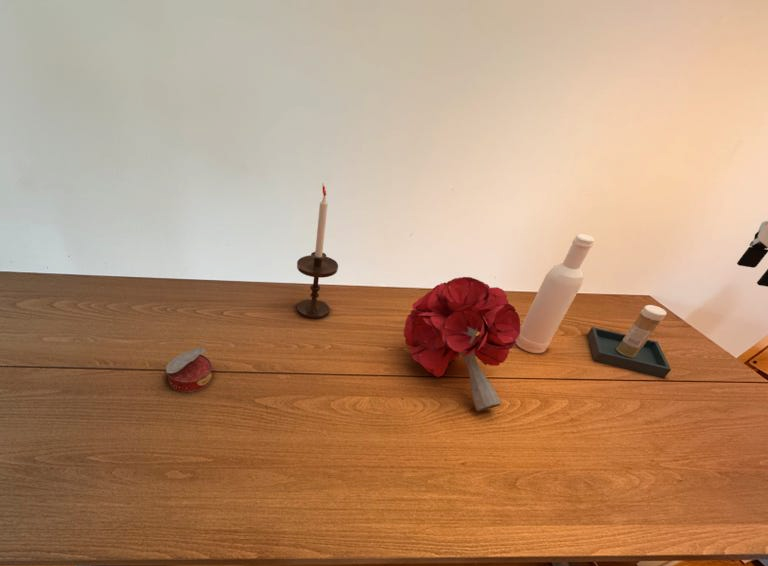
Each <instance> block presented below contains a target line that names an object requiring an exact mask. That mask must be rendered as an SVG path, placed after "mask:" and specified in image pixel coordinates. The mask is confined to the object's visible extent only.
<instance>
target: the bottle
mask: <svg viewBox="0 0 768 566" xmlns="http://www.w3.org/2000/svg"><path fill="white" fill-rule="evenodd" d="M594 242H595V238H594V237H593V236H591V235H590V234H589V235H588V234H585V233H579V234H577V235H576V236H575V237H574V239H573V240H572V242H571V243H572V244H571V246H570V248H569V249H568V252H567V254H566V256H565V257H564V260H563V261H562V263H558V264H556V265H554V266H553V267H551V269H550V270H548V271H547V273H546V274H545V276H544V278H543V280H542V282H541V284H540V287H539V288H538V291H537V293H536V294H535V297H534V299H533V301H532V303H531V305H530V307H529V309H528V311H527V313H526V315H525V318H524V319H523V321H522V324H521V325H520V334H519V337H518V338H517V339H516V340H515V341H516V344H515V345H516V346H518V347H519V348H520V350H521V349H522V350H523V351H526V352H528V353H531V354H532V353H533V354H542V353H544V352H546V350H547V349H548V347H549V346H550V344H551V342H552V340H553V338H554V336H555V334H556V332H557V331H558V328H559V327H560V325H561V324H562V321H564V320H563V319H565V316H566V314H567V313H568V311H569V309H570V307H571V305H572V303H573V302H574V300H575V298H576V296H577V294H578V292H579V291H580V289H581V287H582V286H583V283H584V272H583V271H582V270H581V266H582V264H583V263H584V261H585V258H586V257H587V255H588V253H589V251H590V249H591V248H592V247H593V246H594Z"/></svg>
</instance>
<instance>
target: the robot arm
mask: <svg viewBox="0 0 768 566" xmlns="http://www.w3.org/2000/svg"><path fill="white" fill-rule="evenodd" d="M767 254H768V220H766V221H765V220H764V221H762V222H761V223H760V226H759V227H758V229H757V232H756V233H754V237H753V240H752V241H750V243H749V246H748V247H747V249H746V250H745V251H744V253H743V254H742V255H741V257H740V258H739V259H738V261H737V262H736V264H737V265H738V266H740V267H746V268H752V269H754V268H756V267H757V266H758V265H759V264H760V263H761V261H762V260H763V259H764V257H765V256H766V255H767ZM756 284H757V285H758V286H761V287H766V288H767V287H768V268H767V269H766V270H765V272H764V273H763V274H762V275H761V276H760V278H759V279H758V280H757V281H756Z"/></svg>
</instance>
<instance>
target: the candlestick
mask: <svg viewBox="0 0 768 566" xmlns="http://www.w3.org/2000/svg"><path fill="white" fill-rule="evenodd" d="M322 195H323V196H322V199H321V201H320V202H319V208H318V219H317V229H316V240H315V251H313V252H311V253H310V254H309V255H305V256H302V257H300V258H299V259H298V260H297V262H296V269H297V271H298V272H300V274H302V275H305V276H307V277H312V278H313V282H312V284H311V285H310V286H309V288H310V291H311V293H309V296H310V297H311V299H304V300H301V301H300V302H298V304H297V307H296V308H297V309H296V311H297V313H298V315H300V316H301V317H303V318H305V319H308V320H321V319H324V318H326V317H327V316H328V315H329V312H330V306H329V305H328V304H327V303H326V302H324V301H322V300H320V299H317V298H319V297H320V294H319V293H318V292H319V291H320V290H321V285H320V284H319V280H320V279H319V278H323V279H324V278H329V277H332V276H334V275H336V274H337V273H338V271H339V263H338V262H337V261H336V260H335V259H333V258H331V257H328V256H327V253H325V252H323V251H324V243H325V234H326V224H327V223H326V222H327V216H328V215H327V214H328V204H329V203H328V201H327V198H326V196H327V190H326V187H325V185H324V184H322Z"/></svg>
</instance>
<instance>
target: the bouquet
mask: <svg viewBox="0 0 768 566" xmlns="http://www.w3.org/2000/svg"><path fill="white" fill-rule="evenodd" d="M507 298H508V297H507V294H506V292H505V290H504V289H503V288H499V286H498V287H497V286H496V287H495V286H494V287H491V286H490V285H489V284H487V283H485V282H484V281H481V280H479V279H477V278H475V277H471V276H461V277H455V278H452V279H450V280H448V281H446V282H441V283H439V284H437V285H435V286H434V287H433V288H432V290H430V291H429V292H426V294H424V295H423V296H422V297H420V298H418V299H416V301H415V302H413V303H412V306H411V308H412V309H411V310H410V313H409V314H408V315H407V317H406V319H405V323H404V328H403V336H404V338H405V340H404V342H405V344H406V346H408V347H409V348H410V347H411V348H410V349H409V351H408V352H409V353H410V354H411V357H412V359H413V360H414V361H415V362H417V363H418V364H420V365H421V366H423V368H424V370H426V372H427V373H430V374H431V375H434V376H435V377H437V378H439V377H442V376H444V374H445V372H446V370H447V369H448V366H449V362H452V361H454V360H456V359H458V358H459V357H460V356H461V358H462V360H463V361H464V364H465V366H466V368H467V372H468V376H469V384H470V393H471V397H472V399H471V400H472V403H473V405H474V408H475V410H476V412H480V411H486V410H489V409H493V408H497V407H499V406H501V405H502V403H501V400H500V397H499V395H498V393H497V391H496V389H495V388H494V386H493V385H492V383H491V381H490V380H489V379H488V377H487V376H486V374H485V373H484V372H483V371H482V369H481V367H480V365H479V363H478V360H479V361H481V363H483V364H484V365H485V366H487V365H488V366H490V367H498V366H500V364H502V363H505V361H506V360H507V359H508V356H509V354H510V350H511V349H512V348H514V346H516V345H517V344H516V341H515V340H516V339H517V338H518V337H519V334H520V328H521V319H520V318H521V317H520V316H519V313H518V312H517V311H516V308H515V307H514V305H512V304H510V302H509V300H508V299H507Z"/></svg>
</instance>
